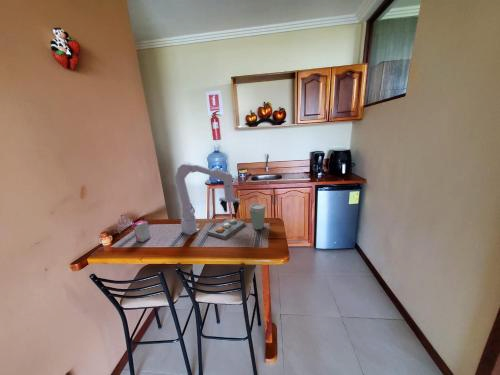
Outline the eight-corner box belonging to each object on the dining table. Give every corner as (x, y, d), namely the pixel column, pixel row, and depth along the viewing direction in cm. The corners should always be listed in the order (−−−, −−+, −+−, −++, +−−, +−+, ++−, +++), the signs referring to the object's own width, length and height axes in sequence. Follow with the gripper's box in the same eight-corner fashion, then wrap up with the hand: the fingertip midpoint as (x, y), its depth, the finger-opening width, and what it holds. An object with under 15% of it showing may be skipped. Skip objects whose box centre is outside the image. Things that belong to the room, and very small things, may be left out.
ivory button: (222, 227, 125) (222, 225, 125) (226, 225, 129) (226, 222, 128) (227, 229, 123) (227, 226, 123) (231, 226, 126) (231, 223, 126)
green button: (228, 223, 131) (228, 221, 130) (232, 221, 134) (232, 218, 133) (233, 224, 128) (233, 222, 128) (237, 222, 132) (236, 219, 131)
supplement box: (151, 238, 122) (147, 221, 119) (142, 242, 116) (138, 225, 114) (144, 236, 124) (141, 219, 121) (136, 241, 119) (132, 223, 116)
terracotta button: (215, 232, 120) (215, 229, 120) (219, 229, 123) (219, 226, 123) (220, 233, 118) (220, 230, 117) (224, 230, 121) (224, 227, 121)
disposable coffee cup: (264, 223, 132) (263, 201, 128) (268, 230, 122) (267, 207, 118) (249, 224, 131) (247, 203, 127) (251, 232, 120) (249, 209, 117)
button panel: (207, 234, 121) (207, 231, 121) (228, 221, 138) (228, 218, 138) (225, 239, 114) (224, 236, 114) (245, 224, 131) (244, 222, 131)
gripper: (215, 193, 123) (218, 213, 126) (236, 194, 117) (238, 215, 120) (221, 190, 129) (223, 209, 132) (241, 191, 123) (243, 211, 126)
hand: (231, 212), depth 127 cm, fingers open, 7 cm apart
